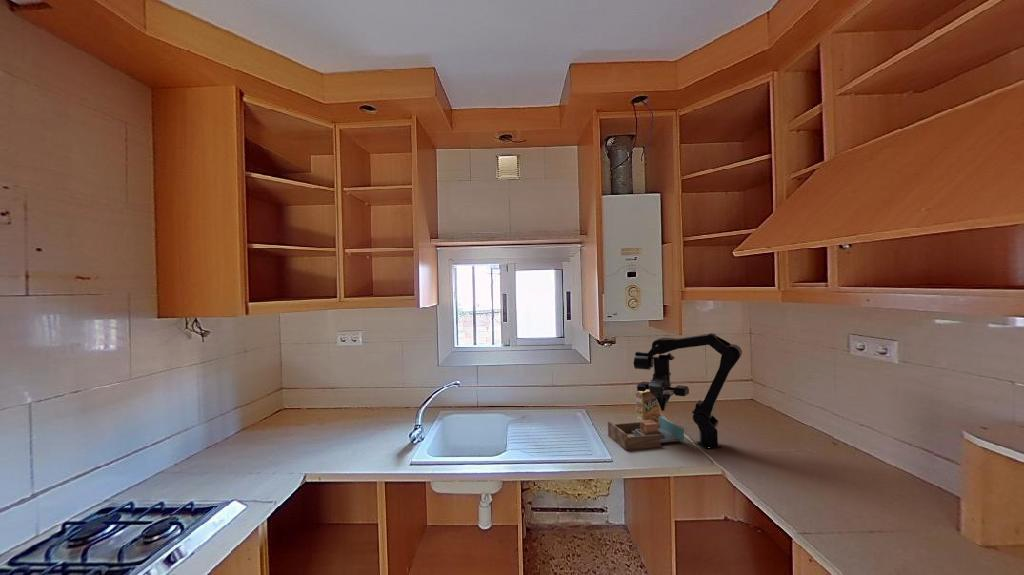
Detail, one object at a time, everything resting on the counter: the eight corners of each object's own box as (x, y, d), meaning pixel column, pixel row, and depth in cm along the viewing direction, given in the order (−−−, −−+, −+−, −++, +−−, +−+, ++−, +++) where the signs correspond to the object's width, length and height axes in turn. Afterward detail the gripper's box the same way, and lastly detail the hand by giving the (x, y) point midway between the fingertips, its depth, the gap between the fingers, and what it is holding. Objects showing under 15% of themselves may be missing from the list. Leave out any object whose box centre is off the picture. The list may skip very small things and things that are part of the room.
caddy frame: (661, 446, 171) (661, 431, 171) (625, 450, 168) (625, 434, 168) (641, 432, 187) (641, 418, 187) (608, 436, 184) (607, 421, 184)
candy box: (643, 429, 191) (642, 392, 191) (636, 426, 195) (635, 390, 195) (659, 426, 195) (658, 389, 195) (652, 423, 199) (651, 387, 199)
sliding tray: (684, 441, 173) (683, 428, 173) (648, 445, 170) (648, 431, 170) (662, 428, 189) (662, 416, 188) (629, 431, 186) (629, 419, 186)
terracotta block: (658, 436, 177) (658, 423, 177) (646, 437, 176) (646, 424, 176) (652, 432, 182) (651, 419, 182) (640, 433, 181) (640, 420, 181)
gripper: (630, 372, 180) (631, 412, 180) (678, 376, 168) (680, 419, 168) (642, 367, 188) (643, 405, 188) (688, 371, 177) (690, 412, 177)
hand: (663, 410), depth 180 cm, fingers closed
